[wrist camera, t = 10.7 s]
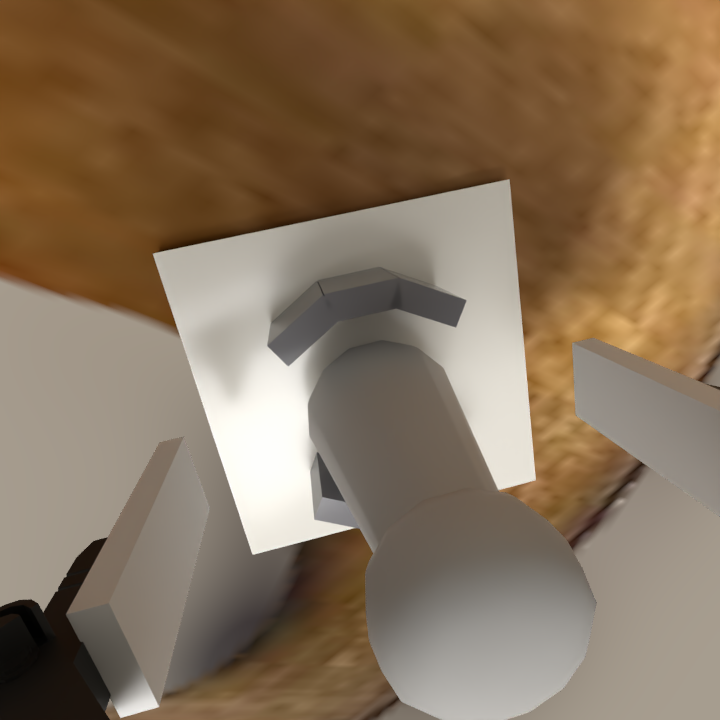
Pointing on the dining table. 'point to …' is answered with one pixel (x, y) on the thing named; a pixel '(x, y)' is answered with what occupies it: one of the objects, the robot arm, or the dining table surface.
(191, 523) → the robot arm
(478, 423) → the square base with blocks
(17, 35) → the dining table surface
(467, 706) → the salt shaker
